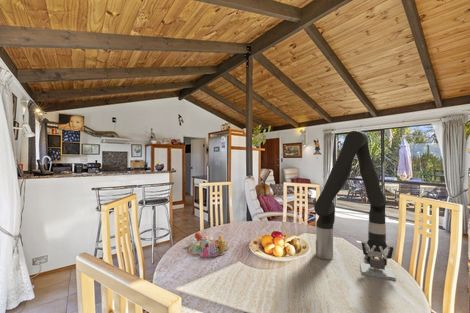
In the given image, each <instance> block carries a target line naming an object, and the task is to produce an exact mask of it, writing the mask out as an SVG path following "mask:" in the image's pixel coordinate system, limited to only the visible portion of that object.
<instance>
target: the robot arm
mask: <svg viewBox="0 0 470 313" xmlns="http://www.w3.org/2000/svg"><path fill="white" fill-rule="evenodd" d="M368 142H369V140H368V136H367V135H366V133H364V132H363V131H360V130H351V131H350V132H348V133H346V135H345V138H344V140H343V144H342V146H341V149H340V152H339V154H338V157H337V159H336V160H335V162H334V164H333V166H332V168H331V170H330V172H329V174H328V177H327V179H326V181H325V184H324V186H323V189H322V191H321V193H320V195H319V196H318V198H317V199H316V201H315V202H314V206H313V209H314V212H315V215H317V216H318V217H317V220H316V222H315V224H316V225H315V226H316V227H315V237H316V238H315V257H316V258H319V259H322V260H332V259H333V258H334V224H335V219H336V217H335V216H336V206H335V203H334V202H333V201H334V199H335V198H336V196H337V195H338V193H340V191H341V190H342V189H343V188H344V186H345V185H346V183H347V182H348V179H349V177H350V174H351V172H352V168H353V164H354V163H353V162H354V159H355V156H356V157H357V160H358V161H357V162H358V168H359V172H360V177H361V179H362V183H363V185H364V188H365V193H366V194H365V195H366V197H367V201H368V202H369V206H370V207H369V208H370V209H369V212H368V224H367V225H368V227H367V232H368V233H367V237H368V239H367V241H363V240H362V241H361V247H362V248H361V249H362V253H363V255H364V256H365V255H367V258H366V262H367V263H368V264H370V258H371V257H370V255H371V254H372V252H373V251H375V252H376V251H377V252H381V253H382V257H383V260H384V261H385V266H387V265H388V263H387V261H388V259H390V260H391V259H392V258H393V253H394V247H393V245H392V244H389V245H388V244H387V225H386V205H387V197H386V194H385V193H384V192H383V191H382V189H381V185H380V184H381V183H380V179H379V176H378V173H377V170H376V168H375V164H374V162H373V160H372V156H371V152H370V148H369V143H368ZM367 244H368V246H369V247H370V248H369V250H368V252H366V250H365V247H366V245H367ZM386 248H387V250H388V252H387V254H386V253H385V250H386Z"/></svg>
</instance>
